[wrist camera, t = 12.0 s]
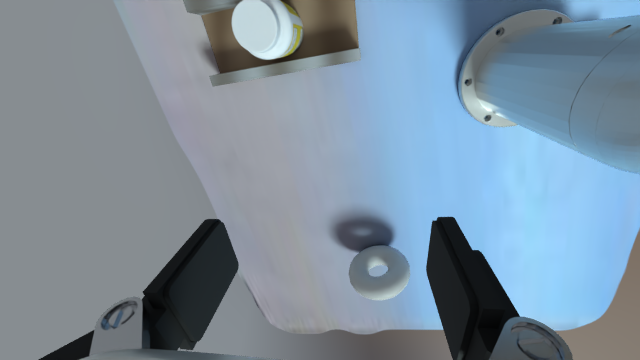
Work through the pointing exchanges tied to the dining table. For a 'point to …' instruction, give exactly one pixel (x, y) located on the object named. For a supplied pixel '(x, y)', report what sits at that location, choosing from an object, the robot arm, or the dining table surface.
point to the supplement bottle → (267, 28)
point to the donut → (383, 284)
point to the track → (314, 52)
